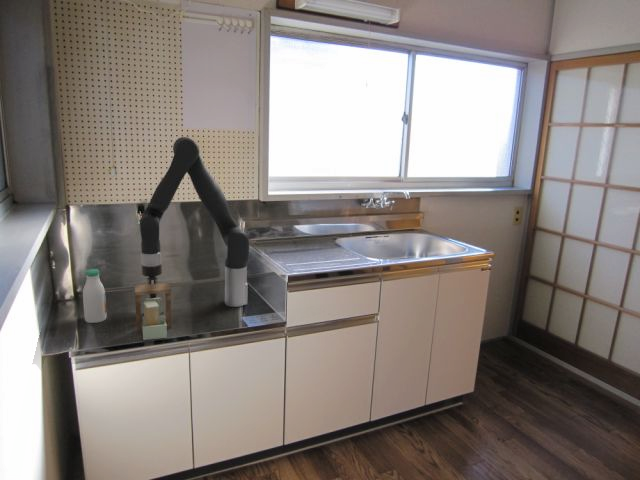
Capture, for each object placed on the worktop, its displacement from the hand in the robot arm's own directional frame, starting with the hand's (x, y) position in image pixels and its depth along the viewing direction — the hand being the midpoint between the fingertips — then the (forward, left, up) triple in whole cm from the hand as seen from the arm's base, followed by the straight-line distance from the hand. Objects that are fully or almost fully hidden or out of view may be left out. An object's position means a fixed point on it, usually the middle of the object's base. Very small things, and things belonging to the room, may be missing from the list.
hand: (153, 303), depth 187 cm
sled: (0, +15, -3) cm, 15 cm away
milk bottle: (+21, +3, -4) cm, 22 cm away
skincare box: (+1, +20, -4) cm, 21 cm away
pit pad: (0, +5, -4) cm, 6 cm away
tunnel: (0, +14, -4) cm, 14 cm away
